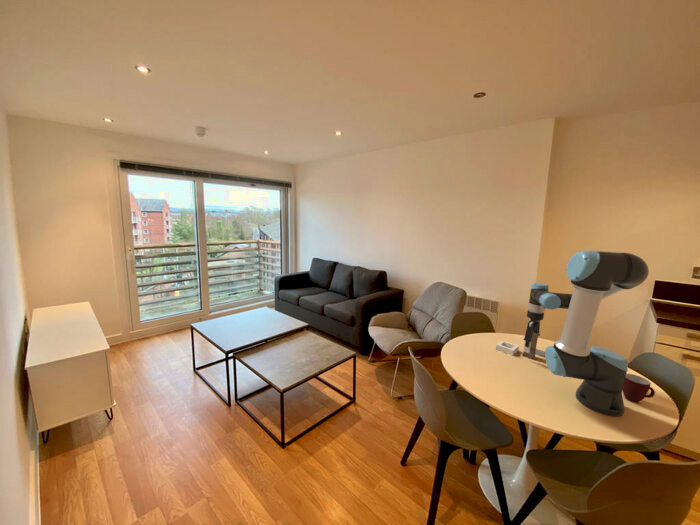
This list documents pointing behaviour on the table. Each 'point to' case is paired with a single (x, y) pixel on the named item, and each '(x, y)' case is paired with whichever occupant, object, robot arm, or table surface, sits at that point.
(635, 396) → the mug
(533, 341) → the peg
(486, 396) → the table surface
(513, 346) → the socket block
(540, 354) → the mat
